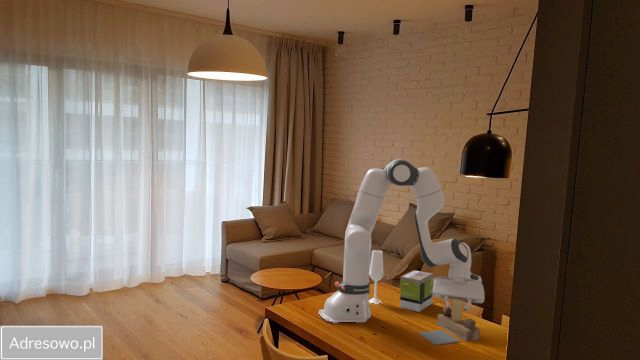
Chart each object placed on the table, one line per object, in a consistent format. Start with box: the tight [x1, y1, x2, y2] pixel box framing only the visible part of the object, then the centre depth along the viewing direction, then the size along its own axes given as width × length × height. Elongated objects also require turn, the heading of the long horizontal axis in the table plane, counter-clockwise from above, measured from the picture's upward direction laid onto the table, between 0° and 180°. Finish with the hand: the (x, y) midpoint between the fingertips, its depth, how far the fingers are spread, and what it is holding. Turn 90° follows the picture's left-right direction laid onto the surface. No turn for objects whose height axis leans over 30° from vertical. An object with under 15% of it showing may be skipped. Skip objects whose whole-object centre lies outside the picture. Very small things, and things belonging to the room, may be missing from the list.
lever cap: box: [451, 298, 463, 323], centre depth 184 cm, size 4×4×8 cm
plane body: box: [436, 306, 481, 342], centre depth 183 cm, size 7×18×7 cm, turn 22°
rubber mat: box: [418, 329, 461, 346], centre depth 176 cm, size 11×11×1 cm
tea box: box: [399, 269, 434, 313], centre depth 212 cm, size 15×10×15 cm
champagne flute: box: [369, 249, 384, 305], centre depth 215 cm, size 7×7×24 cm
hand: (457, 308), depth 183 cm, fingers open, 5 cm apart
